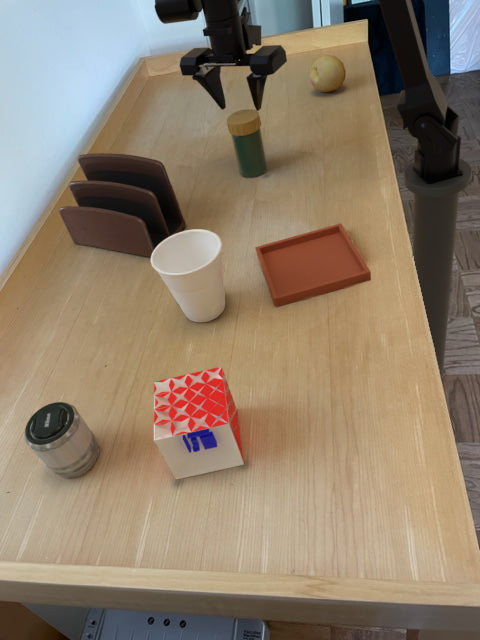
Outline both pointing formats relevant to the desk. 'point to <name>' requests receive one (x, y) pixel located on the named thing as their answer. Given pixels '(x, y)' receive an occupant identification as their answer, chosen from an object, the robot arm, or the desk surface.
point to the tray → (311, 264)
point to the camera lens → (62, 439)
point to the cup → (193, 272)
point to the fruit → (327, 73)
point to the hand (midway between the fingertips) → (241, 109)
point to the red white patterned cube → (197, 423)
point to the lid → (244, 122)
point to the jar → (250, 154)
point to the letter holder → (122, 204)
